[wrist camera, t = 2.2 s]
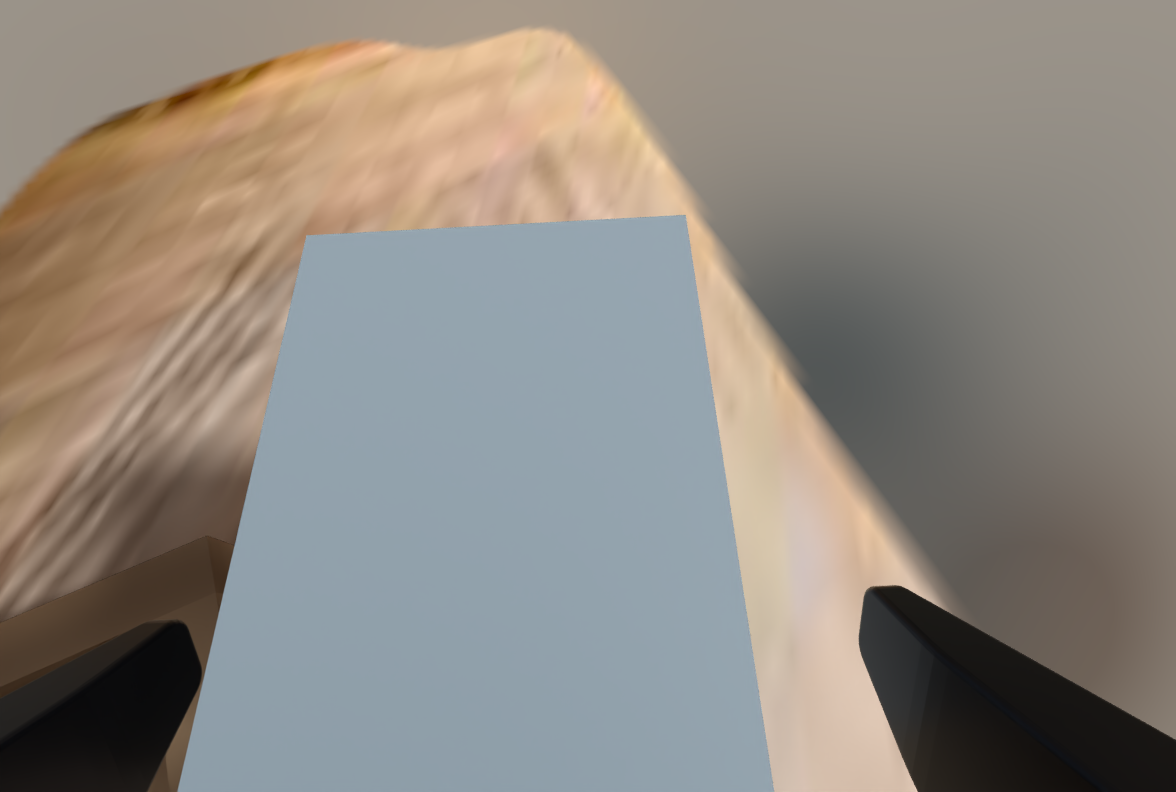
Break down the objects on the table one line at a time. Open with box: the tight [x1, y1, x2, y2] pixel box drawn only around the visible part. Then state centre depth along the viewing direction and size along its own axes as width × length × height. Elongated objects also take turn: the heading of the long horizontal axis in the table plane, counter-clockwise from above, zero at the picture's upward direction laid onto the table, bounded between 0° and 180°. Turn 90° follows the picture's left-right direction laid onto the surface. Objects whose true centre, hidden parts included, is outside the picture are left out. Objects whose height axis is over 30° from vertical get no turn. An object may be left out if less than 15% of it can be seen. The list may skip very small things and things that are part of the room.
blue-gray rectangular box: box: [177, 215, 774, 792], centre depth 11 cm, size 6×4×12 cm
